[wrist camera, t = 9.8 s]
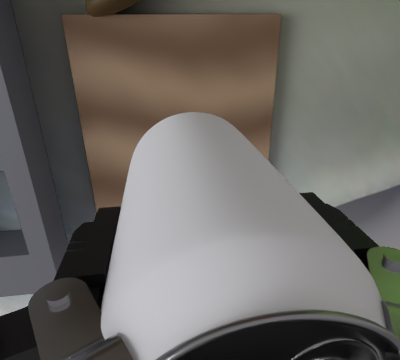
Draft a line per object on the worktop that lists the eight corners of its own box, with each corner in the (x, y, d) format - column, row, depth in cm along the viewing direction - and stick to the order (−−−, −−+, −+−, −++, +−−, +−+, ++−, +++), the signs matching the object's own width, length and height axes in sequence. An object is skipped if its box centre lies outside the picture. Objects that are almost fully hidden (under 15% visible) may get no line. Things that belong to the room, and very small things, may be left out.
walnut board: (65, 15, 22) (61, 14, 21) (276, 15, 24) (281, 14, 23) (98, 207, 29) (96, 212, 28) (261, 195, 30) (264, 199, 30)
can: (272, 179, 17) (476, 420, 6) (179, 241, 18) (217, 545, 7) (207, 81, 14) (368, 206, 4) (103, 160, 15) (-25, 451, 4)
